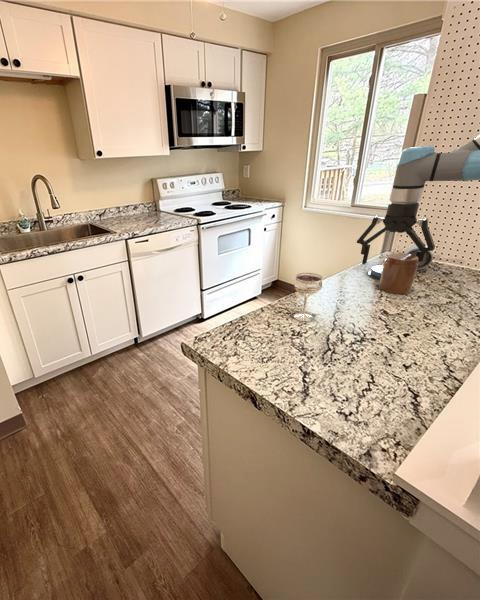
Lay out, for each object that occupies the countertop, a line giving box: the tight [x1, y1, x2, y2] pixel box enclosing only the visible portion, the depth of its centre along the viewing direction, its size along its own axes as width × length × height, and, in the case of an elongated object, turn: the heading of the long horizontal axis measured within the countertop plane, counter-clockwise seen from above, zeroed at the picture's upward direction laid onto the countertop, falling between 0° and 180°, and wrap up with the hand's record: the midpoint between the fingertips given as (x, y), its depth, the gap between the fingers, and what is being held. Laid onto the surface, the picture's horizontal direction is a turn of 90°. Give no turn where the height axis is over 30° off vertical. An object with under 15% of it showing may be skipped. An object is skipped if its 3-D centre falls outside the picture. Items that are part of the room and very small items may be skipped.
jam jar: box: [377, 252, 419, 295], centre depth 94 cm, size 8×8×10 cm
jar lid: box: [370, 264, 384, 278], centre depth 105 cm, size 9×9×2 cm
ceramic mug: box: [404, 244, 434, 271], centre depth 110 cm, size 11×8×8 cm
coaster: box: [367, 270, 380, 281], centre depth 106 cm, size 10×10×1 cm
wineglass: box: [293, 272, 324, 322], centre depth 84 cm, size 7×7×12 cm
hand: (387, 266), depth 105 cm, fingers open, 13 cm apart
